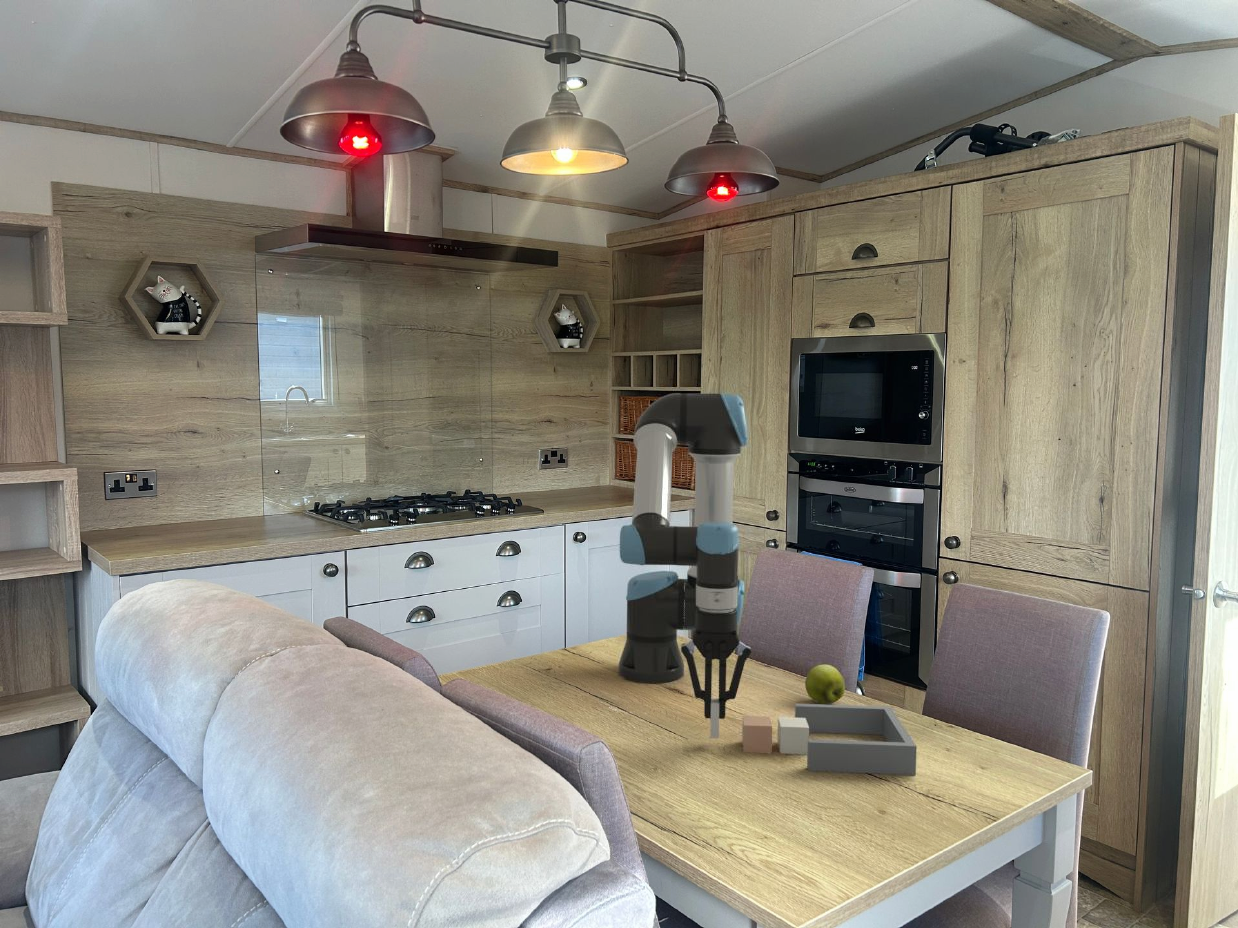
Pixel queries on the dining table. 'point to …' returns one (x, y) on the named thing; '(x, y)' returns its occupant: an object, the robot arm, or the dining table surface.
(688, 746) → the dining table surface
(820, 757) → the box
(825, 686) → the apple
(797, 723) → the tile
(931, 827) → the dining table surface
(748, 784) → the dining table surface
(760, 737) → the tile
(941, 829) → the dining table surface
